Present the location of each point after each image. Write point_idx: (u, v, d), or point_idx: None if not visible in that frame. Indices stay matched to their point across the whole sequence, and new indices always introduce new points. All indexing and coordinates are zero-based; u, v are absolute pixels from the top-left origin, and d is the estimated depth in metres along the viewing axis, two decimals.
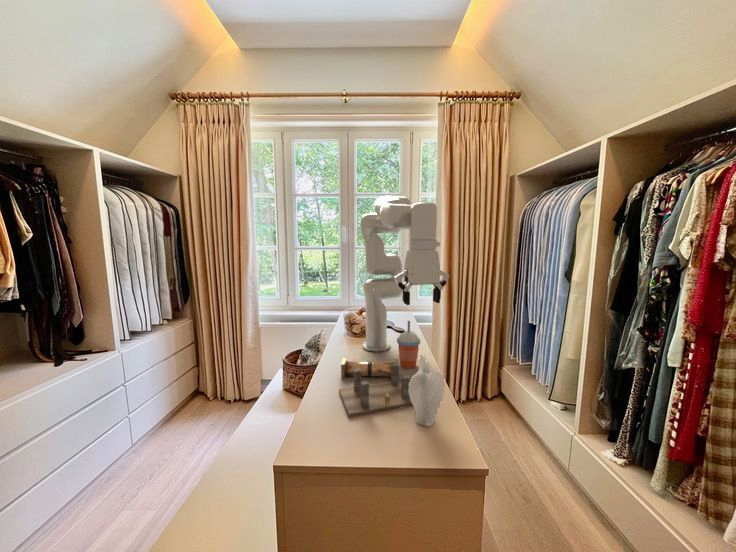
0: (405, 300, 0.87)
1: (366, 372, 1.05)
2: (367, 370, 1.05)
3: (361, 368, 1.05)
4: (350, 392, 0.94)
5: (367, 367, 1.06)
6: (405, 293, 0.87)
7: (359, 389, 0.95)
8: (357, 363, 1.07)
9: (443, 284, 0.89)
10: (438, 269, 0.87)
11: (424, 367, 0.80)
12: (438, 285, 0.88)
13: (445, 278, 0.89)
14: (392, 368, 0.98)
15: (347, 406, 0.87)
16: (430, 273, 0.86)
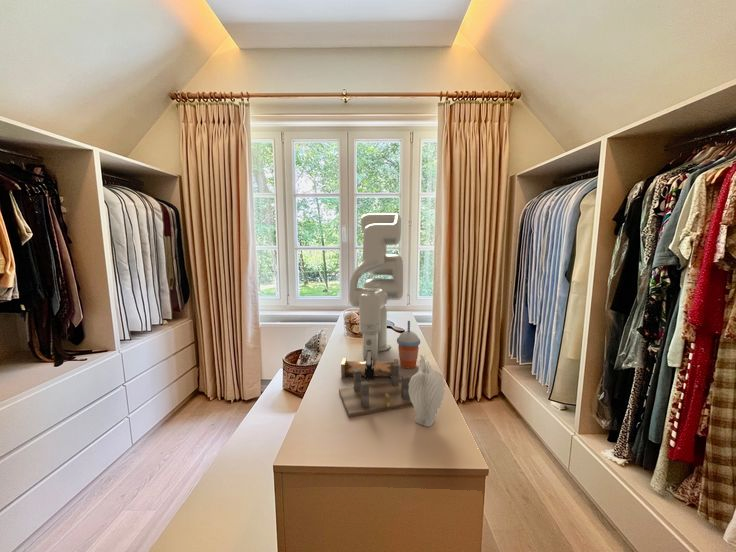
0: None
1: None
2: None
3: (361, 368, 1.05)
4: (350, 392, 0.94)
5: None
6: None
7: (359, 389, 0.95)
8: (357, 363, 1.07)
9: (366, 366, 1.03)
10: (363, 349, 1.02)
11: (424, 367, 0.80)
12: (365, 364, 1.04)
13: (367, 363, 1.01)
14: (392, 368, 0.98)
15: (347, 406, 0.87)
16: None
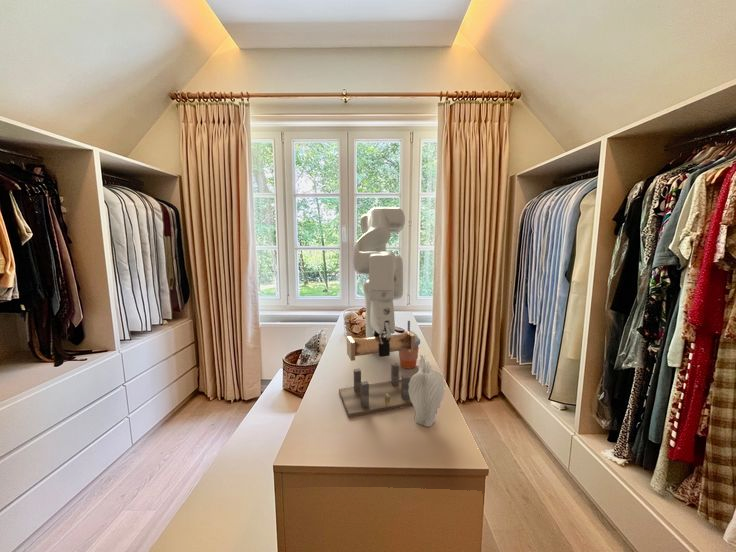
0: None
1: None
2: None
3: (374, 344, 0.88)
4: (350, 392, 0.94)
5: None
6: None
7: (359, 389, 0.95)
8: (367, 339, 0.89)
9: (383, 340, 0.86)
10: (378, 321, 0.85)
11: (424, 367, 0.80)
12: (380, 338, 0.87)
13: (385, 336, 0.85)
14: (392, 368, 0.98)
15: (347, 406, 0.87)
16: (375, 322, 0.88)
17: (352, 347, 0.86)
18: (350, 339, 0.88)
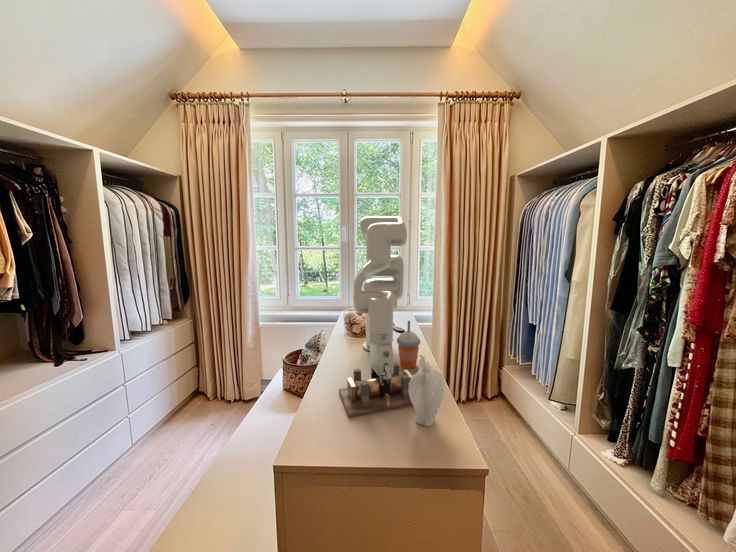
0: (373, 378, 0.98)
1: (379, 390, 0.90)
2: None
3: (374, 387, 0.90)
4: None
5: None
6: None
7: None
8: None
9: (384, 382, 0.87)
10: (378, 363, 0.87)
11: (424, 367, 0.80)
12: (380, 379, 0.88)
13: (386, 378, 0.86)
14: None
15: (347, 406, 0.87)
16: (374, 363, 0.90)
17: (352, 391, 0.88)
18: (350, 382, 0.90)
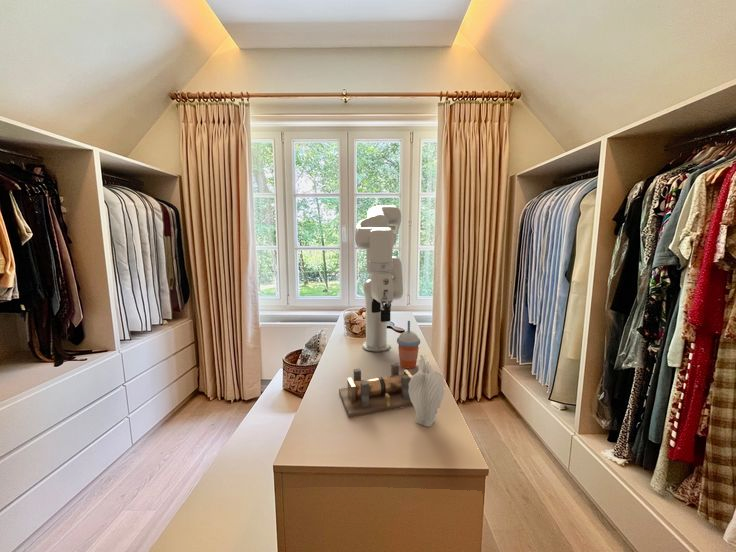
0: None
1: (379, 390, 0.90)
2: (381, 388, 0.90)
3: (374, 387, 0.90)
4: None
5: (380, 385, 0.91)
6: None
7: None
8: None
9: (385, 306, 0.93)
10: (378, 290, 0.94)
11: (424, 367, 0.80)
12: (381, 305, 0.95)
13: (386, 301, 0.92)
14: (392, 368, 0.98)
15: (347, 406, 0.87)
16: (375, 291, 0.97)
17: (352, 391, 0.88)
18: (350, 382, 0.90)
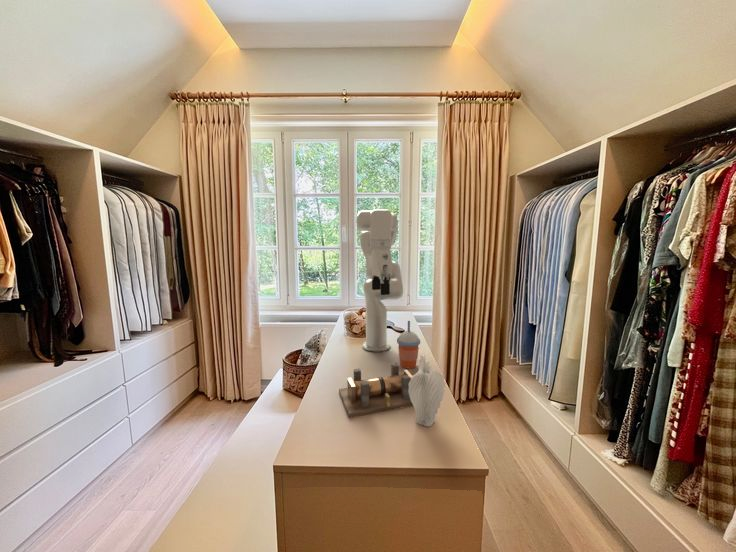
0: None
1: (379, 390, 0.90)
2: (381, 388, 0.90)
3: (374, 387, 0.90)
4: None
5: (380, 385, 0.91)
6: None
7: None
8: None
9: (384, 279, 1.01)
10: (378, 265, 1.02)
11: (424, 367, 0.80)
12: (381, 279, 1.02)
13: (386, 275, 1.00)
14: (392, 368, 0.98)
15: (347, 406, 0.87)
16: (375, 267, 1.05)
17: (352, 391, 0.88)
18: (350, 382, 0.90)
